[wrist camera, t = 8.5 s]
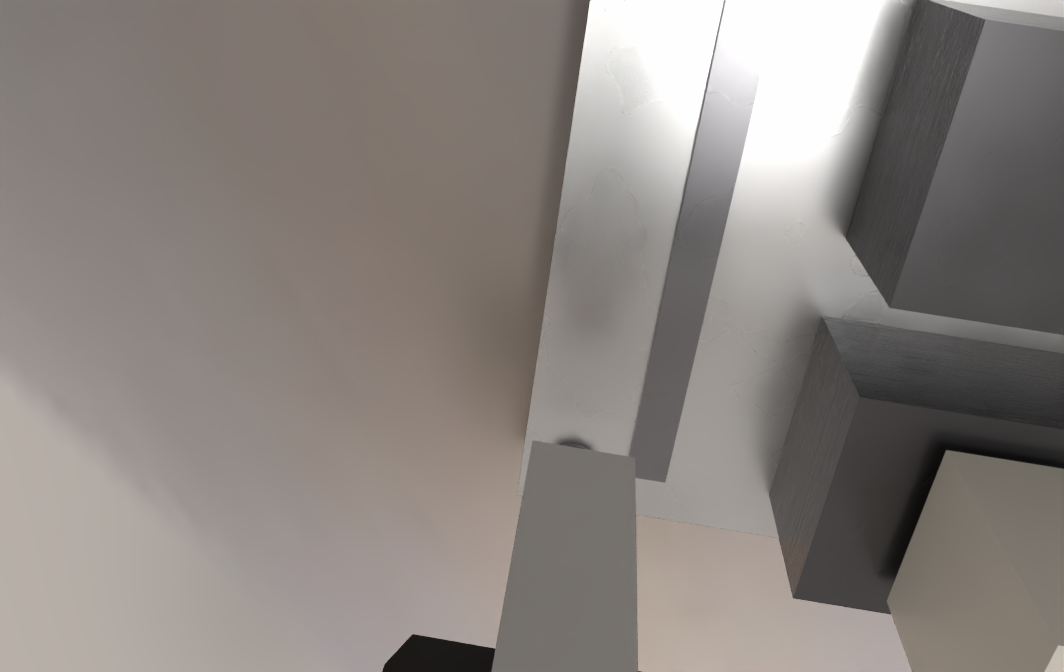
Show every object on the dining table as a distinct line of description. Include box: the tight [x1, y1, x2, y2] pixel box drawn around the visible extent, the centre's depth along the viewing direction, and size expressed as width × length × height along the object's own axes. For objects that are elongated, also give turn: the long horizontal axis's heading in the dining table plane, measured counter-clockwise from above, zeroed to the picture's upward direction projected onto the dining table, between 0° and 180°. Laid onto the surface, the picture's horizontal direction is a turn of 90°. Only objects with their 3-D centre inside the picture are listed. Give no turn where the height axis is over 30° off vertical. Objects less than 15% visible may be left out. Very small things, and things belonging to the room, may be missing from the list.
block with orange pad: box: [887, 450, 1064, 672], centre depth 12 cm, size 2×3×4 cm
